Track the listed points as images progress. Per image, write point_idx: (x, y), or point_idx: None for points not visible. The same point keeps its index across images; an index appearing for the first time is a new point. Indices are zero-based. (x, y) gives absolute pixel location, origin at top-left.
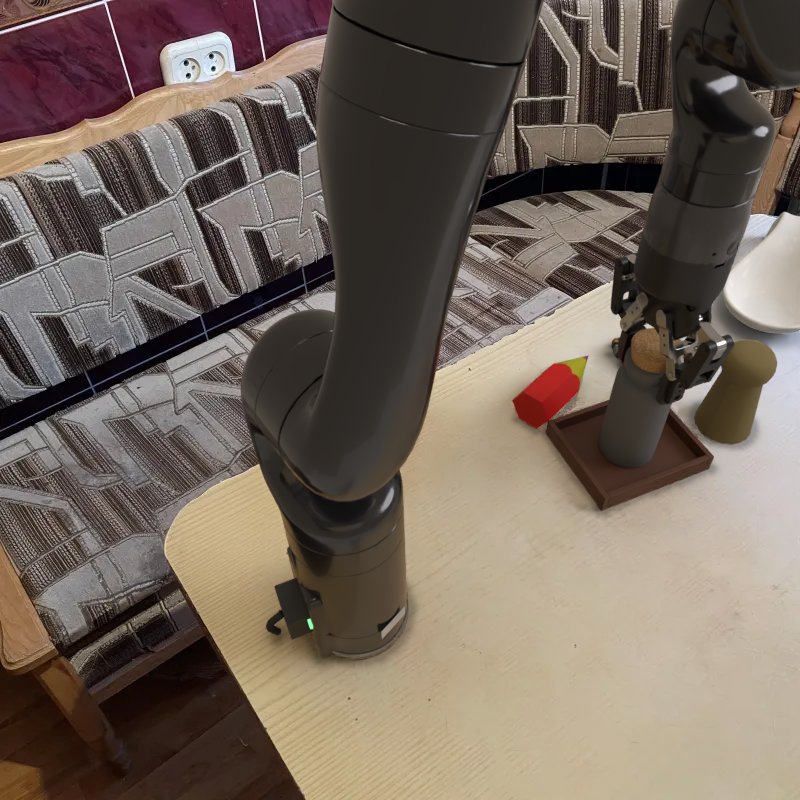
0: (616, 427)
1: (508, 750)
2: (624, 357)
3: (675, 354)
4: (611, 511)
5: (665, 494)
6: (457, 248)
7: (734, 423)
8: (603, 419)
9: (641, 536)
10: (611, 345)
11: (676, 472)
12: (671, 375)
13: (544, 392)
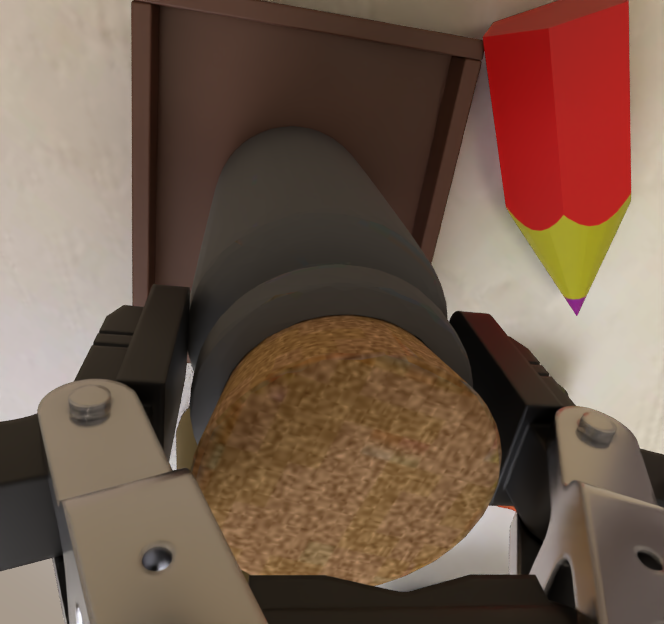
0: (290, 156)
1: None
2: (460, 330)
3: (66, 556)
4: (130, 11)
5: (119, 192)
6: None
7: (186, 456)
8: (398, 215)
9: (14, 27)
10: (558, 384)
11: (133, 247)
12: (68, 407)
13: (573, 74)
